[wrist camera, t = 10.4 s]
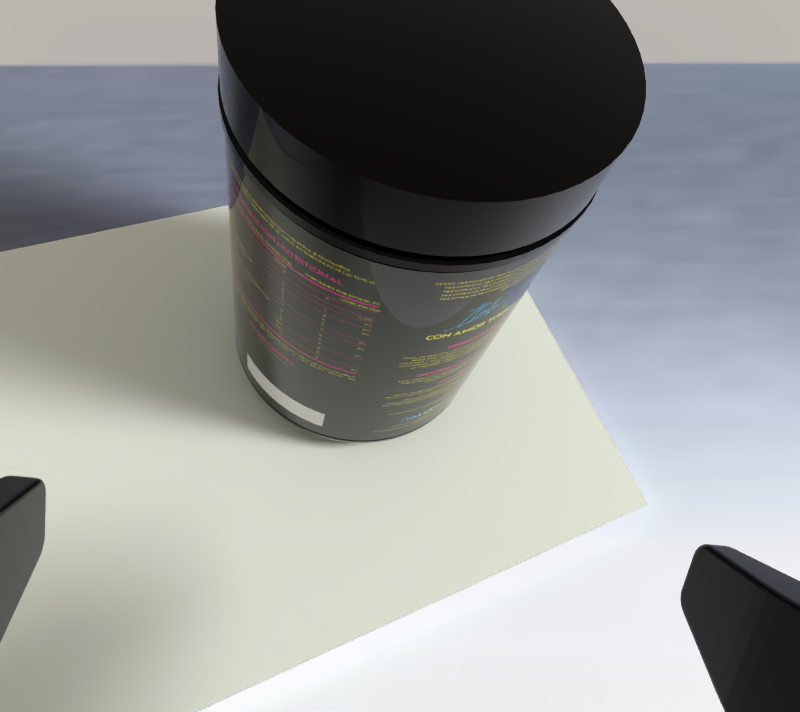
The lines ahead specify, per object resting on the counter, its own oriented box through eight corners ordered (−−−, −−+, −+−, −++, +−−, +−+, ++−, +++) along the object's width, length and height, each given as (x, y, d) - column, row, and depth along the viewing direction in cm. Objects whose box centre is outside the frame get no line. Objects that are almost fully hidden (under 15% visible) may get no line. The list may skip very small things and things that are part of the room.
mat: (-68, 833, 13) (-82, 839, 13) (-143, 296, 18) (-156, 284, 17) (636, 509, 19) (647, 504, 19) (448, 170, 24) (452, 158, 23)
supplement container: (503, 320, 21) (699, 24, 12) (395, 502, 17) (549, 291, 8) (319, 210, 21) (368, -156, 12) (182, 367, 18) (106, 30, 9)
